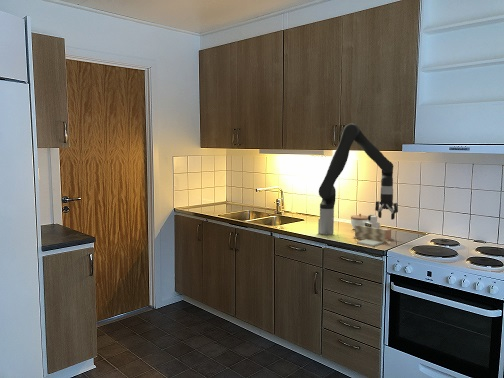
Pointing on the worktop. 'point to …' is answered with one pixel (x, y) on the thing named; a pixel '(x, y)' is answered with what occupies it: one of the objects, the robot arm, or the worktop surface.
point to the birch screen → (369, 233)
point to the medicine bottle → (372, 222)
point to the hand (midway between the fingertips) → (386, 218)
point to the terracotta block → (387, 234)
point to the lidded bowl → (358, 220)
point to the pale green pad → (369, 242)
